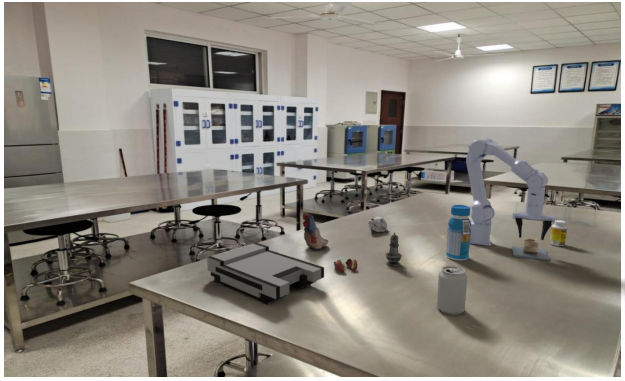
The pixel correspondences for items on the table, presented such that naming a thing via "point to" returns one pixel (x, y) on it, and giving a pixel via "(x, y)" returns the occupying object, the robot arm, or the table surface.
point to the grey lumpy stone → (377, 224)
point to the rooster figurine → (312, 233)
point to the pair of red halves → (350, 263)
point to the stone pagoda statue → (393, 252)
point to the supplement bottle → (558, 233)
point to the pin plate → (519, 253)
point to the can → (452, 290)
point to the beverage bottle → (459, 233)
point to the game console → (262, 272)
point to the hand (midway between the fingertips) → (531, 238)
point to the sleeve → (530, 246)
